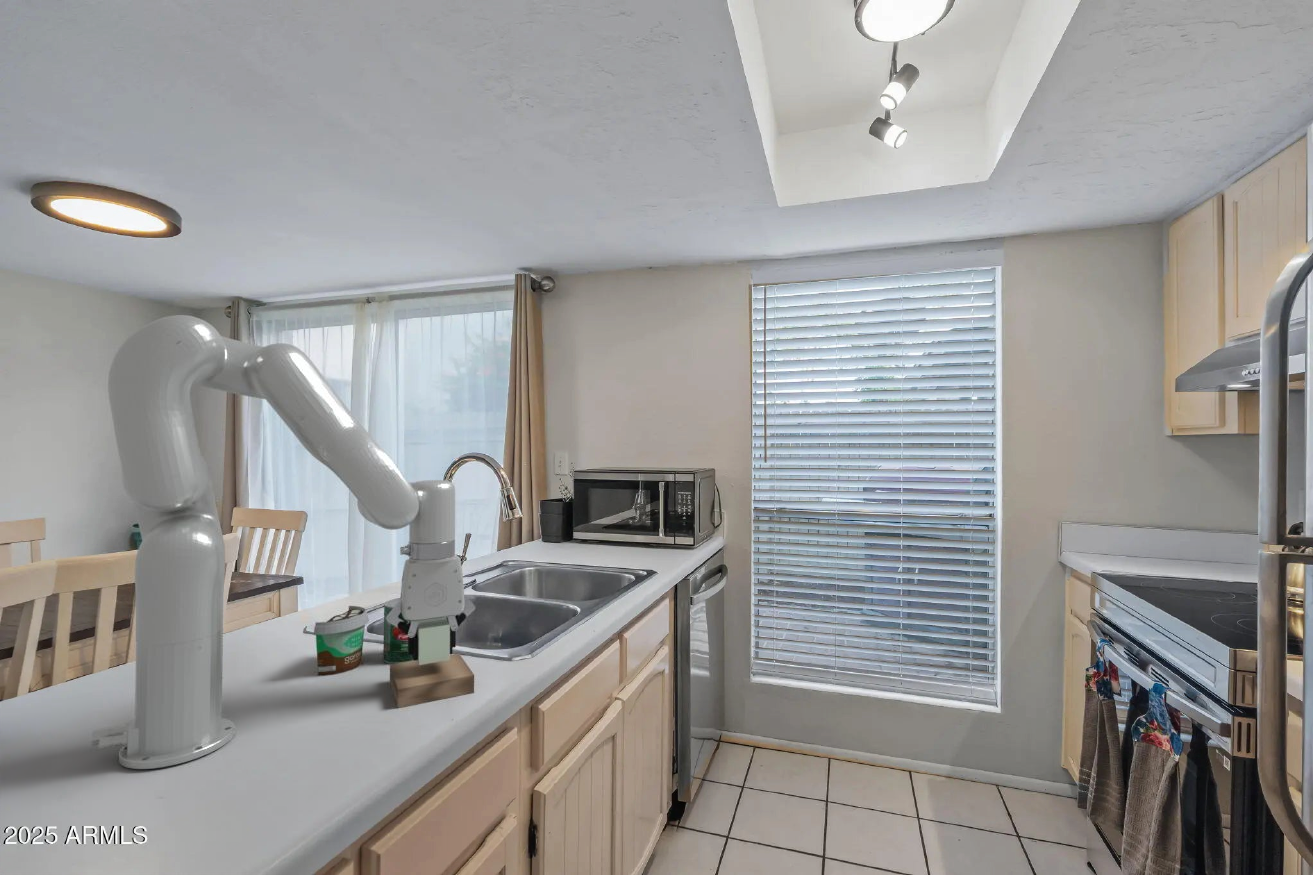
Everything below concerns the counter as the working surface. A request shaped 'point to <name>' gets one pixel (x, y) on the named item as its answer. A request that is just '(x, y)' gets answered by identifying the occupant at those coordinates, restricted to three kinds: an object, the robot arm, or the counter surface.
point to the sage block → (433, 641)
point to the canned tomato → (394, 638)
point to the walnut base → (430, 681)
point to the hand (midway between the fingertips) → (432, 653)
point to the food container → (340, 641)
